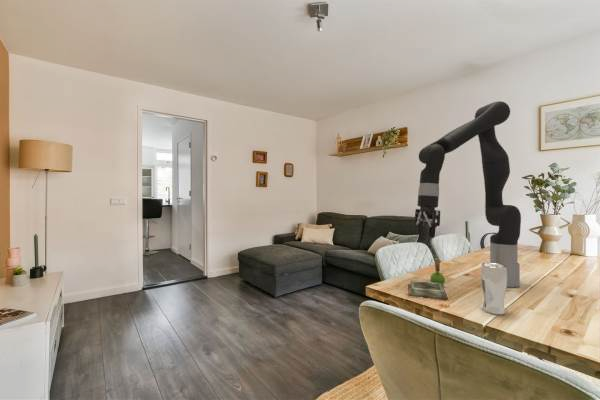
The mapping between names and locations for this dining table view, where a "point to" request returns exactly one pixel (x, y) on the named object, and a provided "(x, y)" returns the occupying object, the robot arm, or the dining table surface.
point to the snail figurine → (437, 273)
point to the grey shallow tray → (427, 290)
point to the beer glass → (494, 287)
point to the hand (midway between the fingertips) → (425, 235)
